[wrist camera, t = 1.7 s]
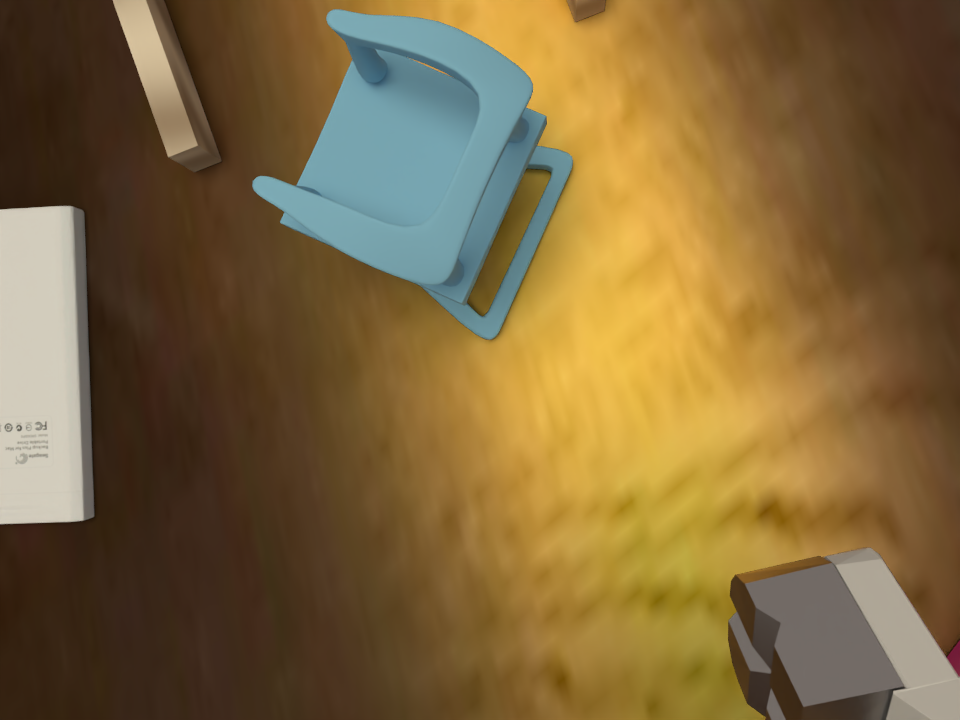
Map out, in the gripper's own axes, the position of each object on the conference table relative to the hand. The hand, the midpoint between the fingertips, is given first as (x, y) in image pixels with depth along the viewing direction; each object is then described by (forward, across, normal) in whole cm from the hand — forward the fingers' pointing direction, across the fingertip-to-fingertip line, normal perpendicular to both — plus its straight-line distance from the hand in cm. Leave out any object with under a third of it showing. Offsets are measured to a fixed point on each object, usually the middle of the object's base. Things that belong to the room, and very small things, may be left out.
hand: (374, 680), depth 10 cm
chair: (+26, -2, +9) cm, 28 cm away
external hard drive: (+26, +17, +12) cm, 34 cm away
